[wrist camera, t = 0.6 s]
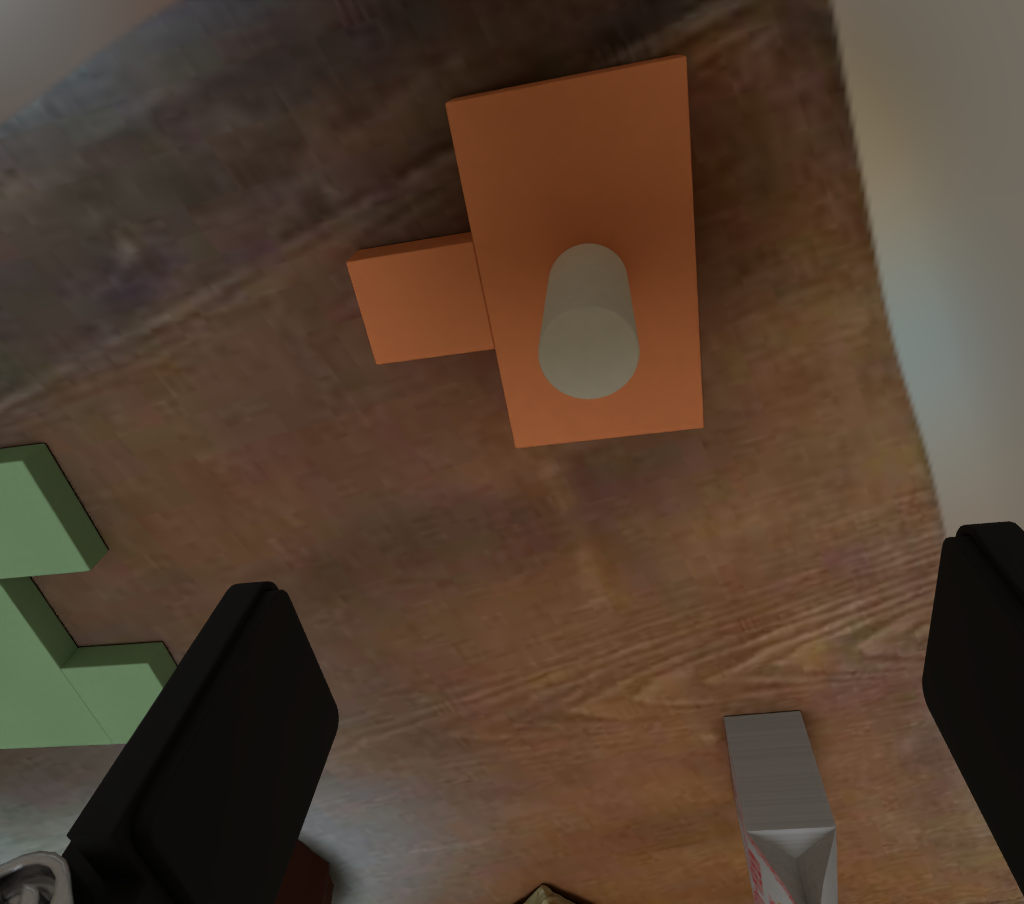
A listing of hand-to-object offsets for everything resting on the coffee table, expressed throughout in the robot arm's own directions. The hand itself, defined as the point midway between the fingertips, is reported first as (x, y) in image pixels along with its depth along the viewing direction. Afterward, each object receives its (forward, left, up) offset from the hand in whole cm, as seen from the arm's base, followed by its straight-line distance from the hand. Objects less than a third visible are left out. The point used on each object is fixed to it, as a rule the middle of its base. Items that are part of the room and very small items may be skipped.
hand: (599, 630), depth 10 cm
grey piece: (+27, +6, -17) cm, 32 cm away
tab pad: (0, -2, -17) cm, 17 cm away
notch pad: (+13, -31, -17) cm, 38 cm away
